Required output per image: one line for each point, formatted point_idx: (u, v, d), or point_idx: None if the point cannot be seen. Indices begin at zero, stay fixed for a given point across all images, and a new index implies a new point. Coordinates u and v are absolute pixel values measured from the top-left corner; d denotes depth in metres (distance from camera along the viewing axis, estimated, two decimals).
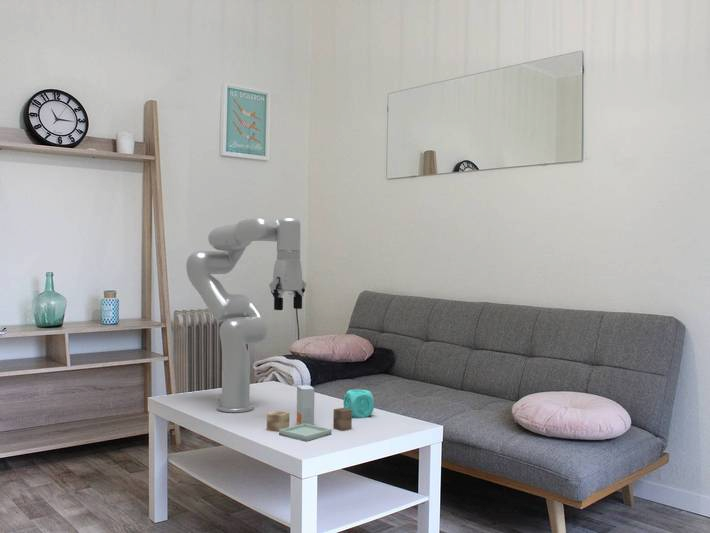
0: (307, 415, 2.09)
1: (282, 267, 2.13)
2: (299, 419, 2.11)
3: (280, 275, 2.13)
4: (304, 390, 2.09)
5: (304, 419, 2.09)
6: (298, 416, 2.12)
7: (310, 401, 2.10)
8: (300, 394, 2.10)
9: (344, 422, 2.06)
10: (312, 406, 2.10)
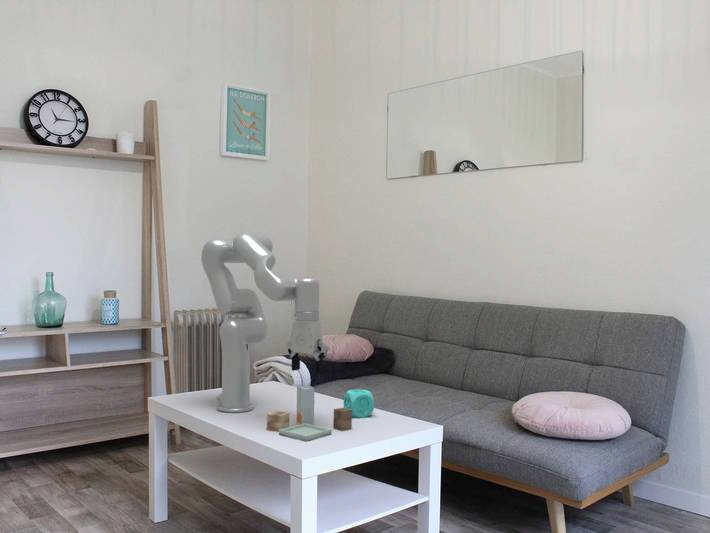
0: (307, 415, 2.09)
1: (320, 329, 2.10)
2: (299, 419, 2.11)
3: (320, 337, 2.09)
4: (304, 390, 2.09)
5: (304, 419, 2.09)
6: (298, 416, 2.12)
7: (310, 401, 2.10)
8: (300, 394, 2.10)
9: (344, 422, 2.06)
10: (312, 406, 2.10)
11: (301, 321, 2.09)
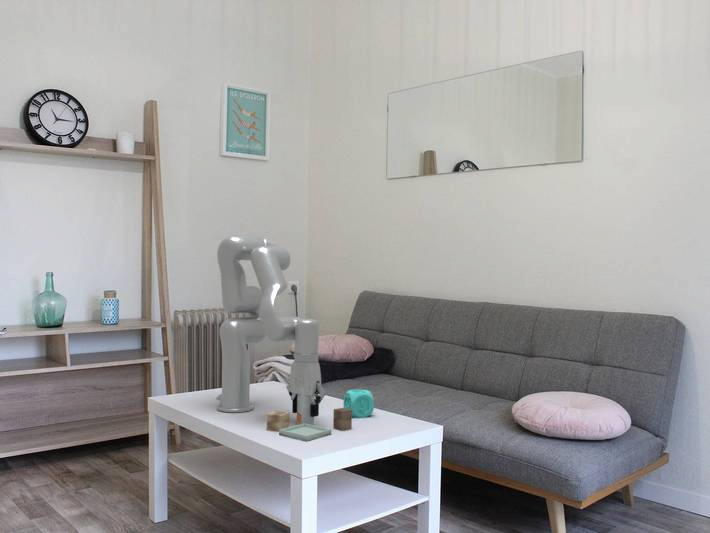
0: (307, 415, 2.09)
1: (319, 370, 2.10)
2: (299, 419, 2.11)
3: (319, 379, 2.10)
4: None
5: (304, 419, 2.09)
6: (298, 416, 2.12)
7: (310, 401, 2.10)
8: None
9: (344, 422, 2.06)
10: None
11: (300, 362, 2.09)
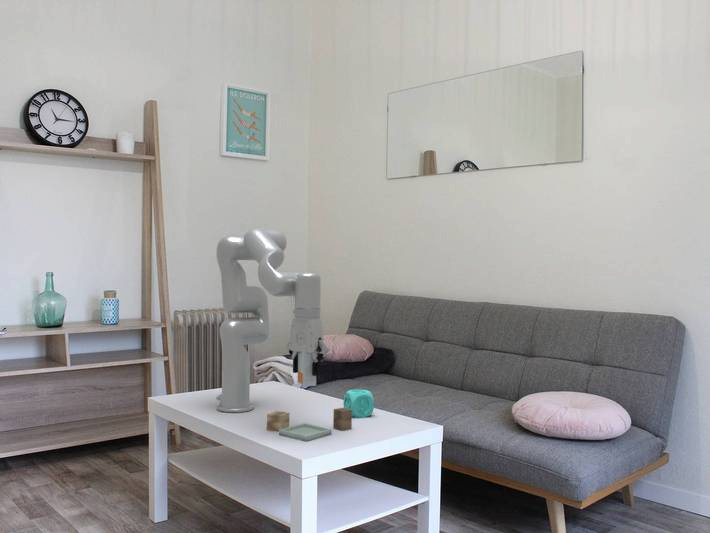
0: (308, 373, 1.98)
1: (321, 326, 1.99)
2: (300, 379, 1.99)
3: (321, 335, 1.98)
4: None
5: (306, 378, 1.97)
6: (299, 375, 2.00)
7: (312, 359, 1.98)
8: None
9: (344, 422, 2.06)
10: None
11: (301, 318, 1.97)
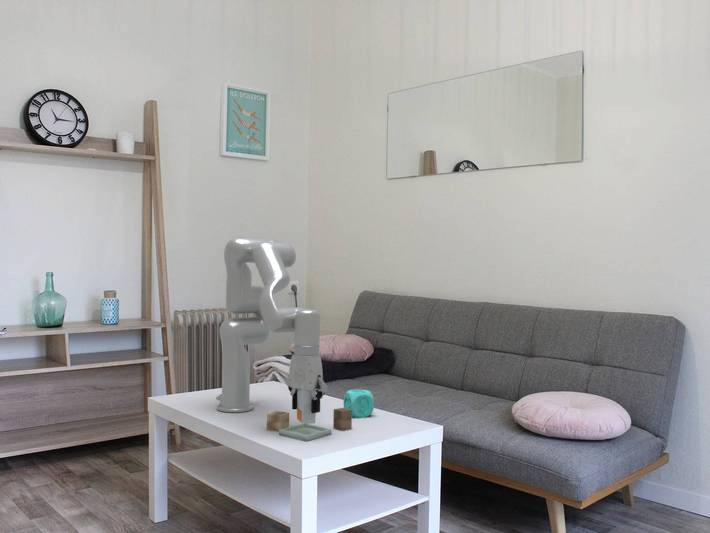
0: (307, 411, 1.97)
1: (320, 364, 1.98)
2: (299, 416, 1.99)
3: (320, 373, 1.97)
4: None
5: (305, 415, 1.97)
6: (298, 412, 2.00)
7: (311, 396, 1.97)
8: None
9: (344, 422, 2.06)
10: None
11: (300, 355, 1.96)
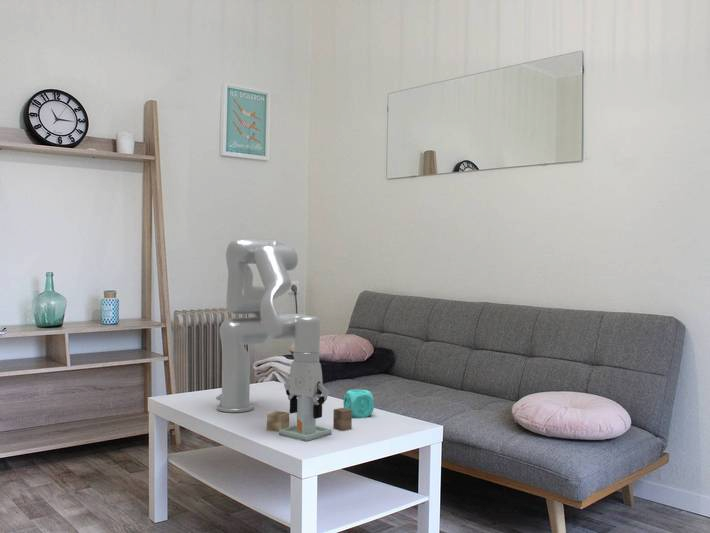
0: (308, 422, 1.97)
1: (320, 370, 1.98)
2: (299, 427, 1.99)
3: (320, 379, 1.97)
4: None
5: (305, 427, 1.97)
6: (298, 423, 2.00)
7: (311, 408, 1.97)
8: (301, 400, 1.98)
9: (344, 422, 2.06)
10: None
11: (300, 362, 1.96)
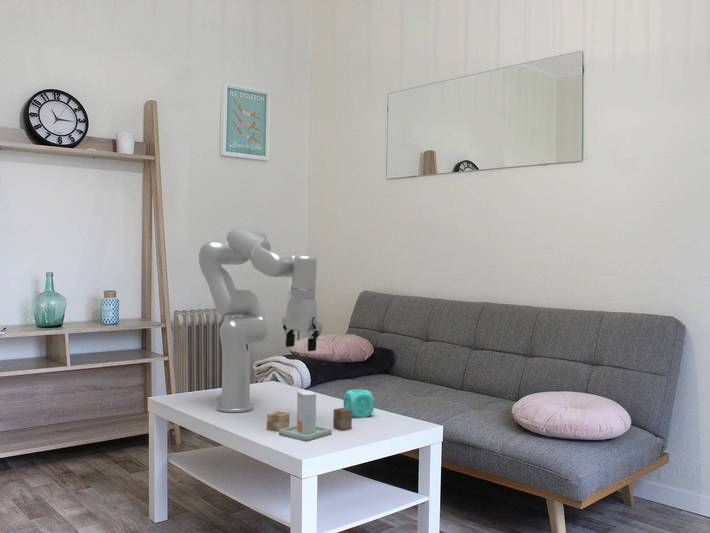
0: (308, 422, 1.97)
1: (315, 307, 2.10)
2: (299, 427, 1.99)
3: (315, 315, 2.09)
4: (305, 396, 1.97)
5: (305, 427, 1.97)
6: (299, 423, 2.00)
7: (311, 408, 1.97)
8: (301, 400, 1.98)
9: (344, 422, 2.06)
10: (313, 413, 1.98)
11: (297, 298, 2.08)
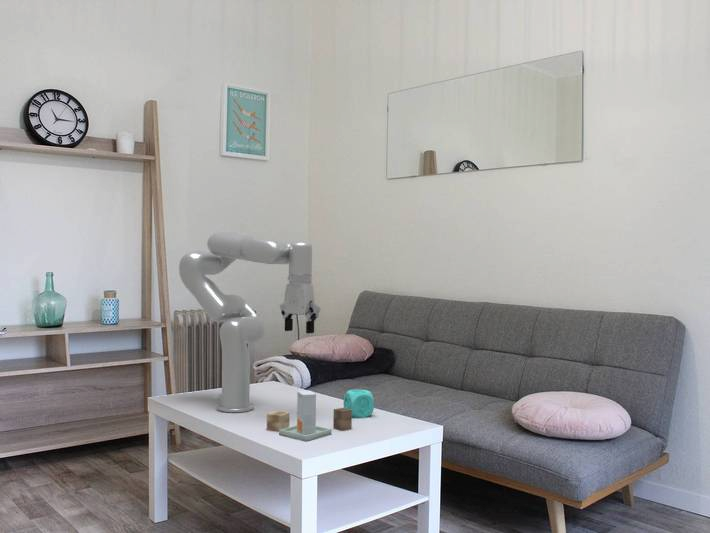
0: (308, 422, 1.97)
1: (312, 291, 2.19)
2: (299, 427, 1.99)
3: (312, 299, 2.18)
4: (305, 396, 1.97)
5: (305, 427, 1.97)
6: (299, 423, 2.00)
7: (311, 408, 1.97)
8: (301, 400, 1.98)
9: (344, 422, 2.06)
10: (313, 413, 1.98)
11: (294, 283, 2.17)
